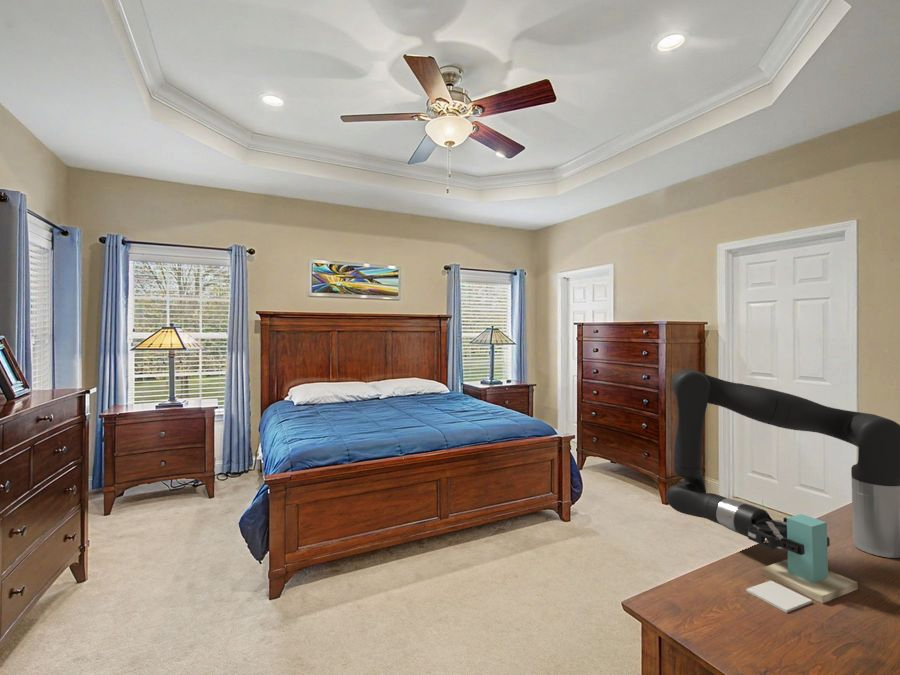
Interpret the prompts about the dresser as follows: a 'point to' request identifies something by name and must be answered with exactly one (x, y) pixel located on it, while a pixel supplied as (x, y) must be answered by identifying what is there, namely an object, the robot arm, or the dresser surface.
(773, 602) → the mat
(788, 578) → the post stand
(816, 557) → the tall teal pillar
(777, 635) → the dresser surface
